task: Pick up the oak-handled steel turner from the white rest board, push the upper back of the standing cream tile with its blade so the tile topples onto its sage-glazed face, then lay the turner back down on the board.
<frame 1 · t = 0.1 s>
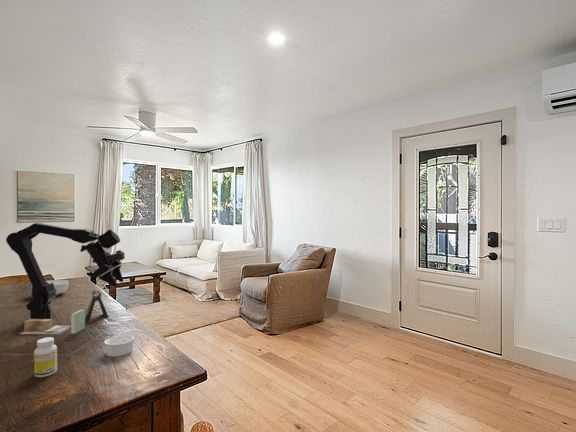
hand: (119, 283, 144), 15 cm above the table, tool tilted 35°, fingers open, 9 cm apart
turner: (37, 330, 126), point 1 cm above the table, touching tool rest
tool rest: (46, 331, 126), on the table
supplement bottle: (45, 373, 95), on the table
ramekin: (119, 352, 109), on the table
cereal bowl: (50, 295, 181), on the table
phone stand: (96, 318, 143), on the table
tile: (78, 332, 127), on the table
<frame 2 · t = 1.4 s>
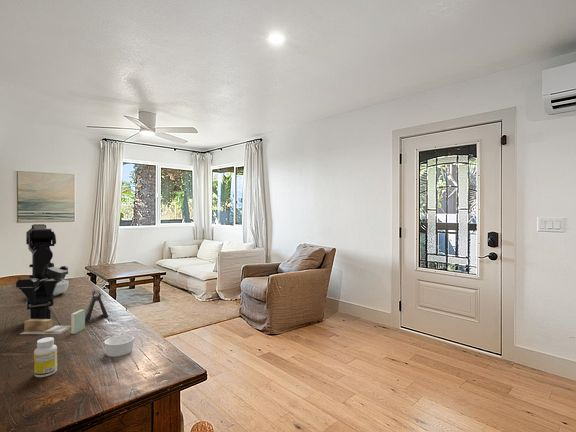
hand: (41, 301, 126), 12 cm above the table, tool pointing down, fingers open, 9 cm apart
nothing on the table moved.
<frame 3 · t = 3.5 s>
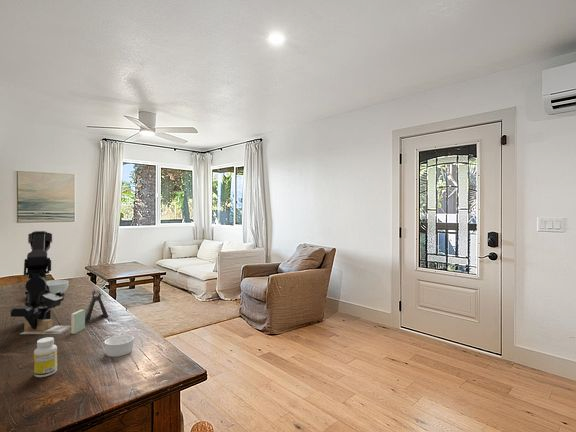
hand: (37, 327, 126), 2 cm above the table, tool pointing down, fingers closed on turner, 2 cm apart
turner: (37, 330, 126), point 1 cm above the table, touching gripper, tool rest
everything else where it was.
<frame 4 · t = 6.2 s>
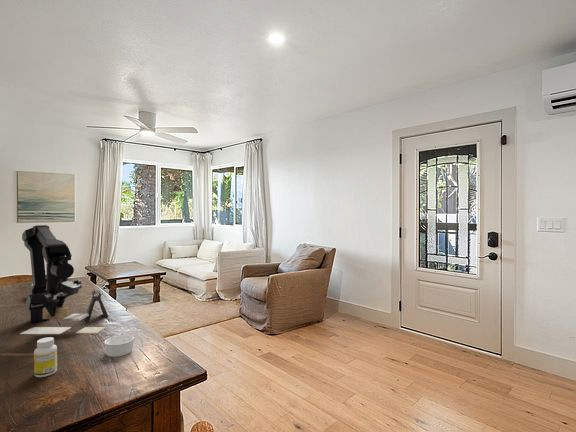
hand: (55, 315, 126), 6 cm above the table, tool pointing down, fingers closed on turner, 2 cm apart
turner: (55, 317, 126), point 5 cm above the table, touching gripper
tile: (80, 331, 127), on the table, tilted 90°
everything else where it was.
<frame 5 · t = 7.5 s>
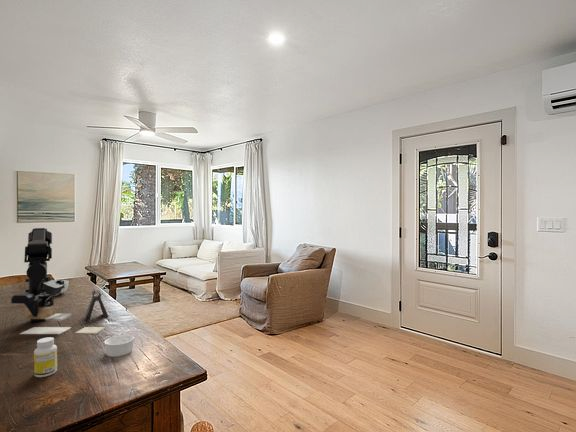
hand: (37, 315, 126), 6 cm above the table, tool pointing down, fingers closed on turner, 2 cm apart
turner: (37, 317, 126), point 5 cm above the table, touching gripper
everything else where it was.
when the fingers open (3 cm above the table, at t = 8.6 s): turner stays where it is, resting on tool rest.
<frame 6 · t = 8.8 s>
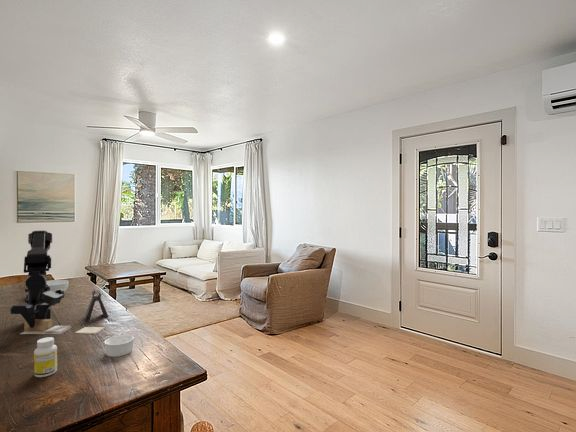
hand: (37, 325, 126), 3 cm above the table, tool pointing down, fingers open, 5 cm apart
turner: (37, 330, 126), point 1 cm above the table, touching tool rest
everything else where it was.
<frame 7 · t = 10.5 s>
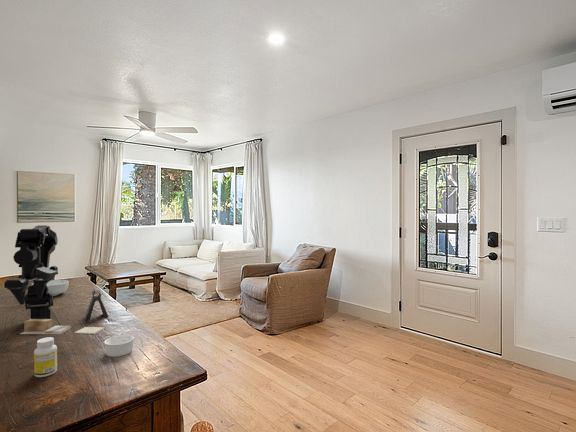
hand: (31, 301, 126), 12 cm above the table, tool pointing down, fingers open, 9 cm apart
nothing on the table moved.
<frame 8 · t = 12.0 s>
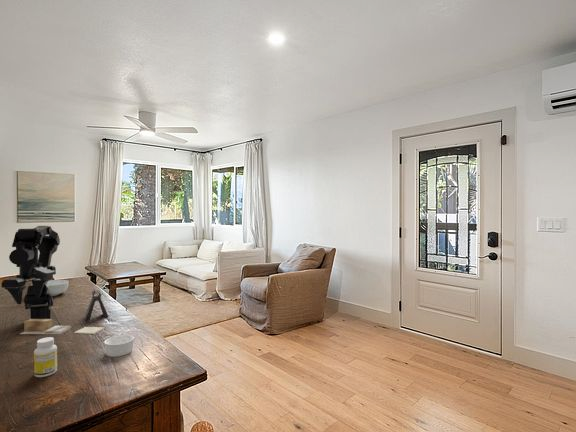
hand: (28, 300, 126), 12 cm above the table, tool pointing down, fingers open, 9 cm apart
nothing on the table moved.
at the end: tile tilted 90°; turner inside the target area (0.2 cm from its centre), point 0.6 cm above the table; the gripper is holding nothing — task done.
